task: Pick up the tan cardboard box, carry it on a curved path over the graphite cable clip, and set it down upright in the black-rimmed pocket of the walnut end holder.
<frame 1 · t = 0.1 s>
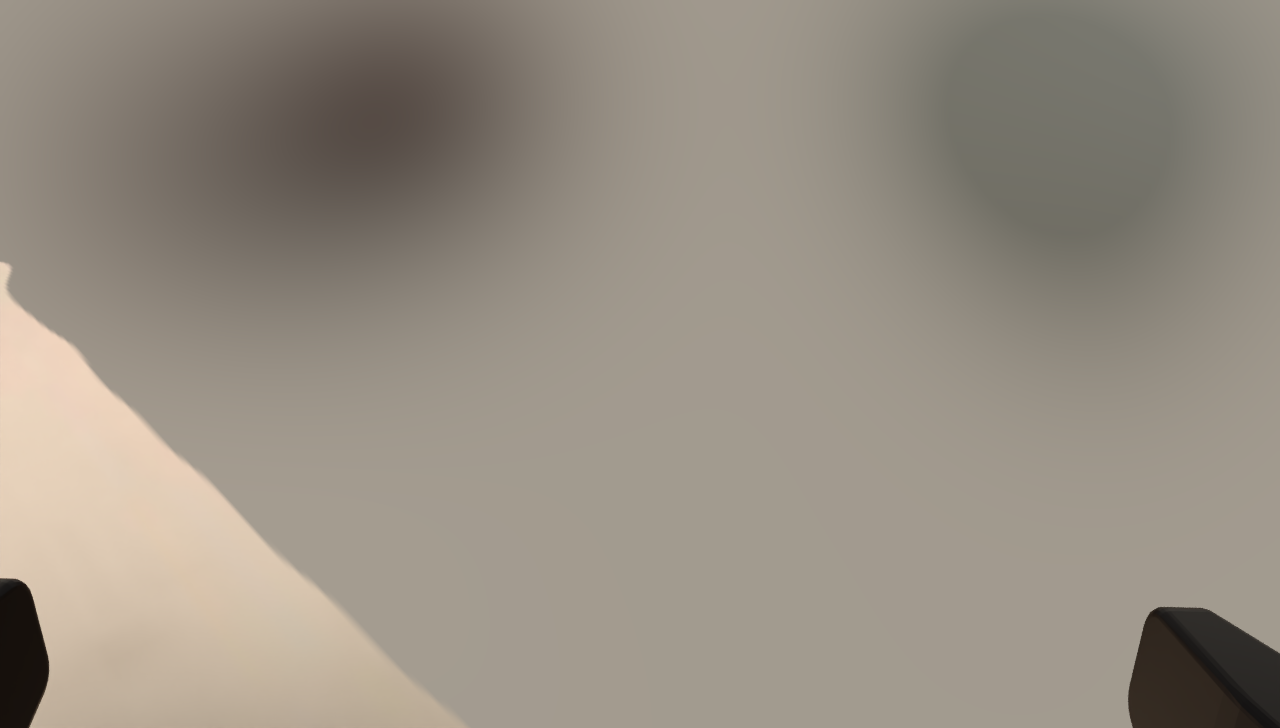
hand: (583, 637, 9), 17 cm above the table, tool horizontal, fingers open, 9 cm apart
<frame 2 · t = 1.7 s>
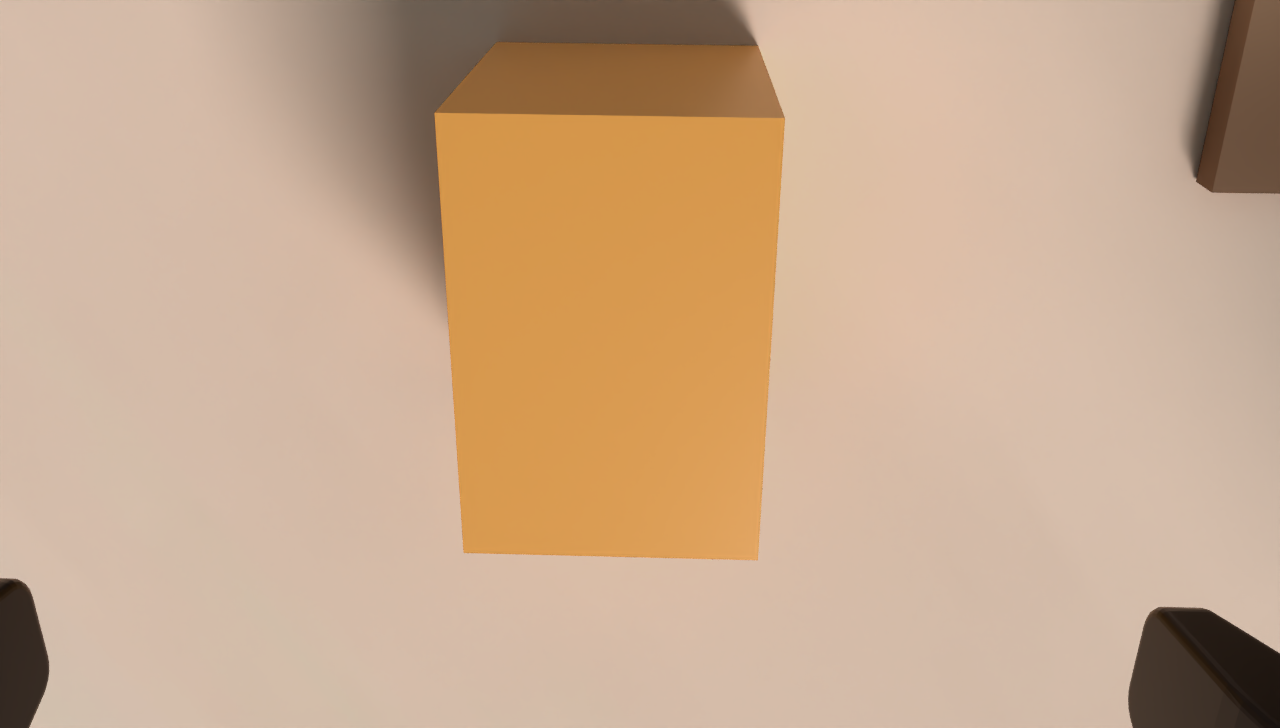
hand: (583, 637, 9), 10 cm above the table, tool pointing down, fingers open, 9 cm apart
tan cardboard box: (626, 230, 19), on the table
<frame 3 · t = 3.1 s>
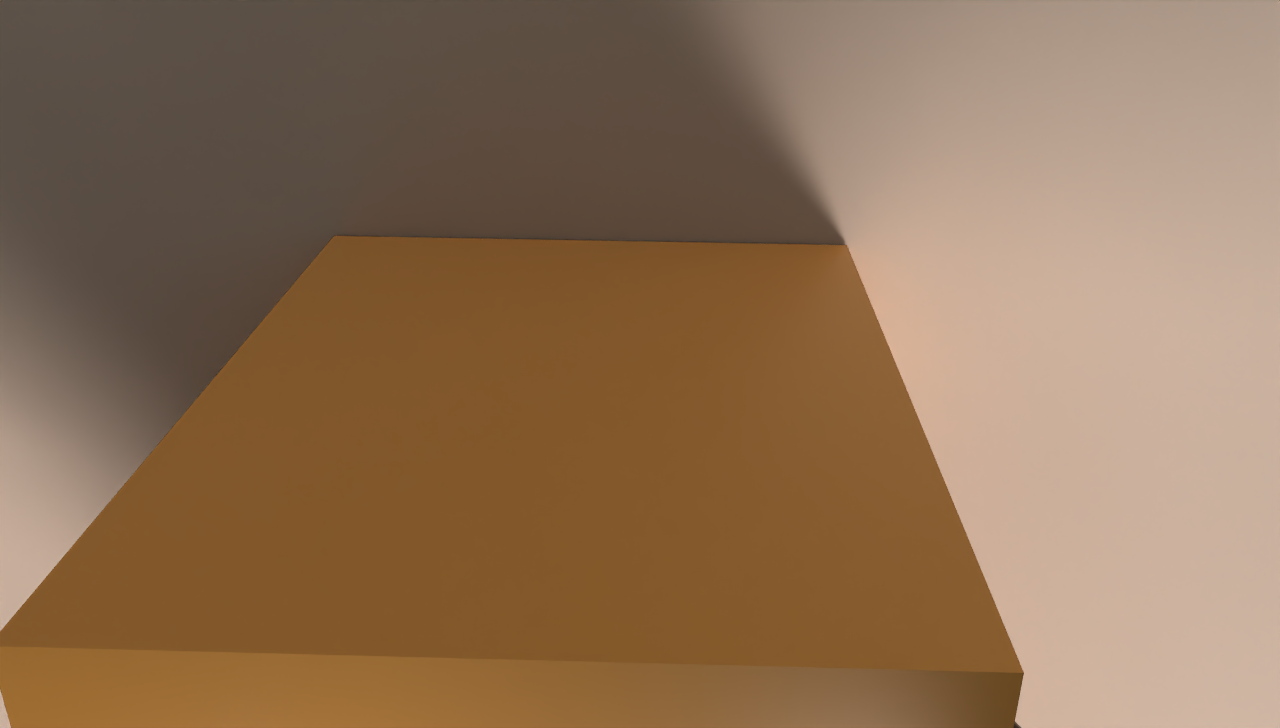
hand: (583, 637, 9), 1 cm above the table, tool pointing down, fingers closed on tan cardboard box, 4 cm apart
tan cardboard box: (592, 561, 10), on the table, touching gripper
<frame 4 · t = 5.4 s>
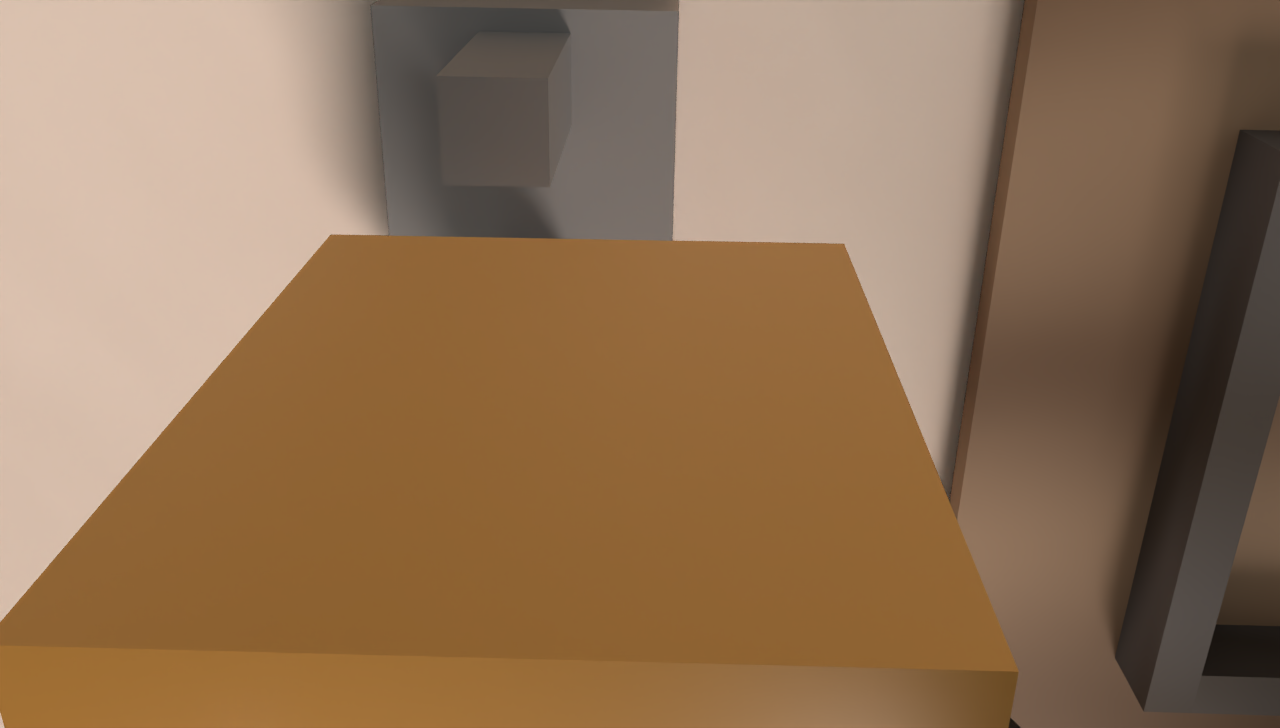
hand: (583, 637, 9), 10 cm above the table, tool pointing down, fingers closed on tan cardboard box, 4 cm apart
tan cardboard box: (589, 561, 10), point 9 cm above the table, touching gripper
cable clip: (544, 157, 18), on the table
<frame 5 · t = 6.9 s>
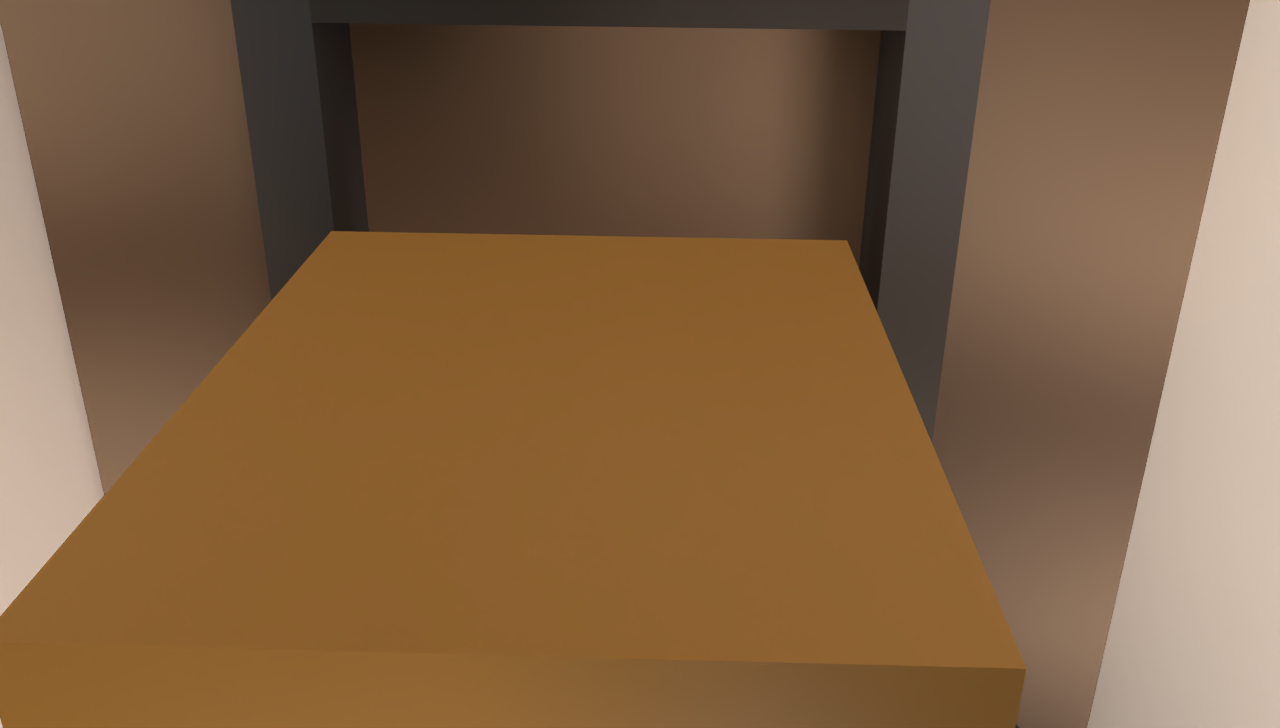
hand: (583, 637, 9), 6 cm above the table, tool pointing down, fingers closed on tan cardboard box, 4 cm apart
tan cardboard box: (591, 559, 10), point 5 cm above the table, touching gripper
end holder: (616, 316, 15), on the table
when the fingers open (3 cm above the table, at t = 7.8 s): tan cardboard box drops 1 cm, resting on end holder.
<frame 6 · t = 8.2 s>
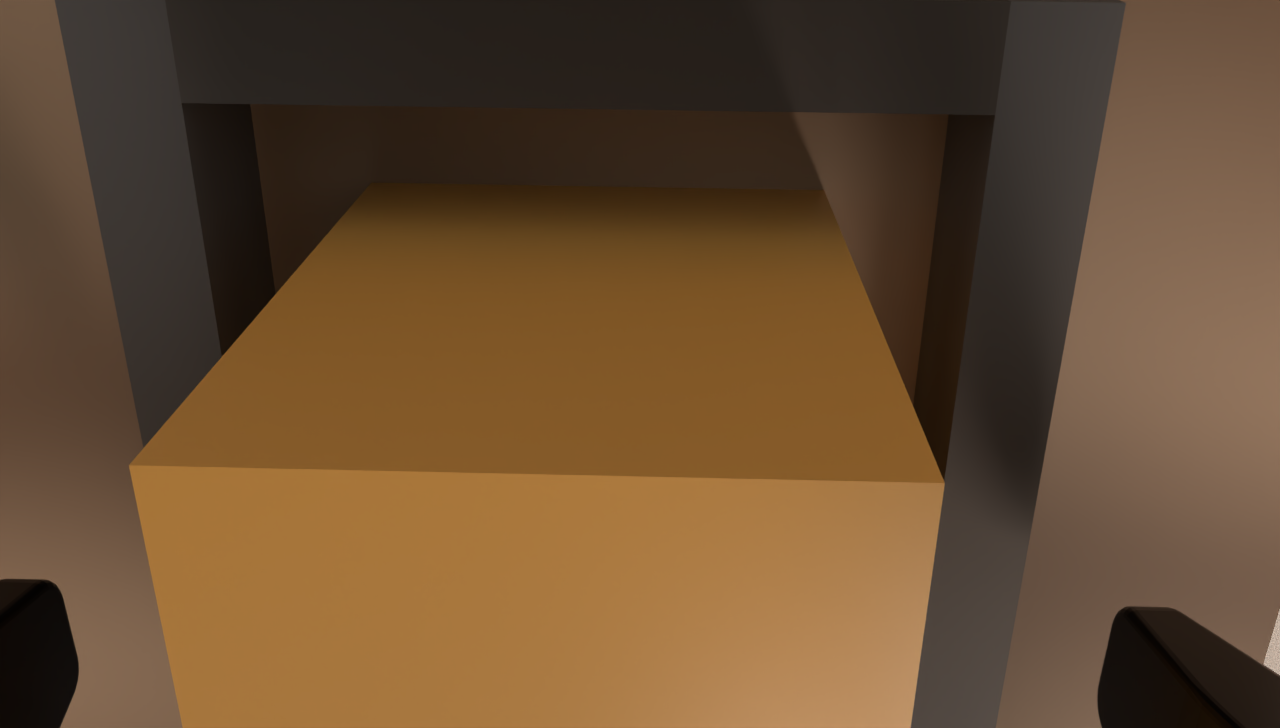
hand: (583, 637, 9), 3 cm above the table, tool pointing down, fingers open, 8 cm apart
tan cardboard box: (598, 479, 11), point 1 cm above the table, touching end holder
end holder: (603, 451, 12), on the table
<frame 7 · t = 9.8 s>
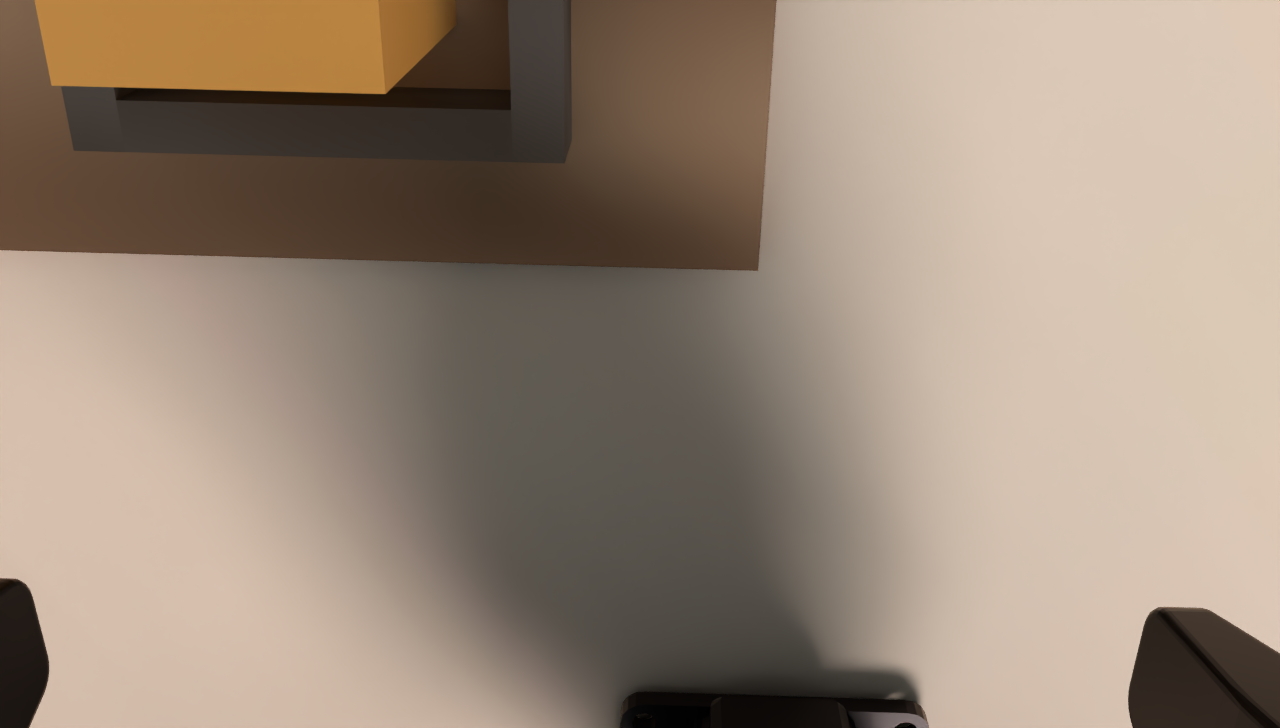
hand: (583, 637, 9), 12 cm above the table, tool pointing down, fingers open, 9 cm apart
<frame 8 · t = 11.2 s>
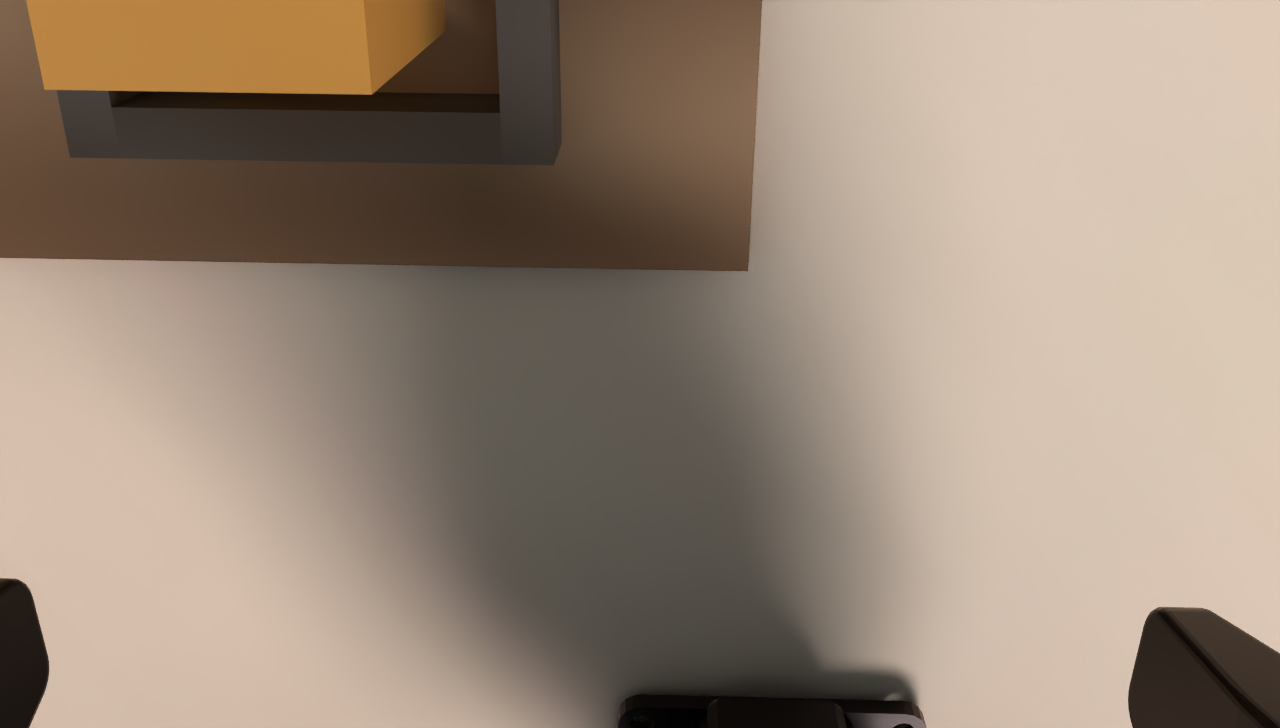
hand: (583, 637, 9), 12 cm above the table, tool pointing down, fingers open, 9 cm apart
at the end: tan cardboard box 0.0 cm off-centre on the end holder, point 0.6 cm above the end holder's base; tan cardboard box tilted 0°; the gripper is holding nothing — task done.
